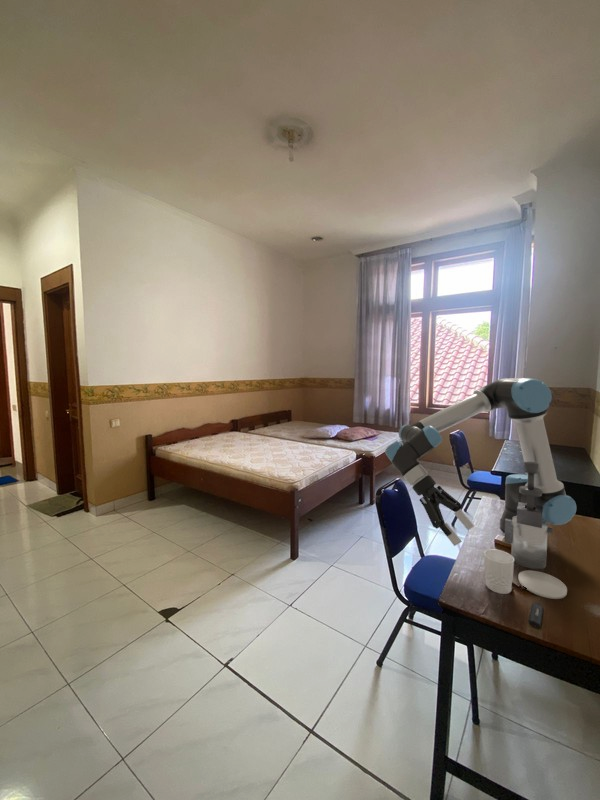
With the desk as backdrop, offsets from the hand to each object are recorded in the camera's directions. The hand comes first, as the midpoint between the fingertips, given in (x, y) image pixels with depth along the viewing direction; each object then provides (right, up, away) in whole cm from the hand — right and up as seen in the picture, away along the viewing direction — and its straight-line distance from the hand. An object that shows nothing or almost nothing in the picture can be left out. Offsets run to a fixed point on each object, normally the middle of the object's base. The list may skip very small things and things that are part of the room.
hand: (465, 535), depth 106 cm
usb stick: (+10, -15, -17) cm, 25 cm away
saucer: (+21, -13, -5) cm, 25 cm away
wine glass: (+26, +6, +7) cm, 28 cm away
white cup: (+8, -14, -5) cm, 17 cm away
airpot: (+26, -12, +9) cm, 30 cm away
